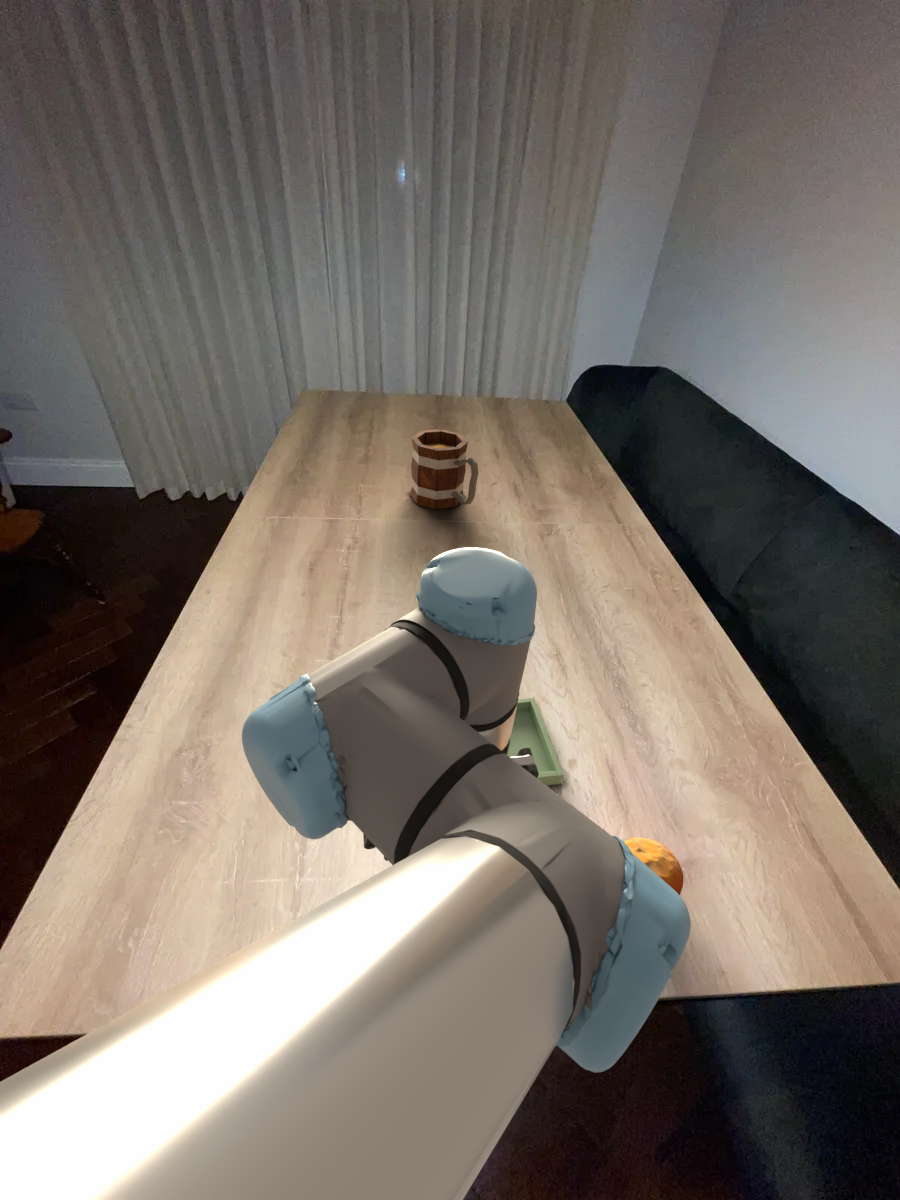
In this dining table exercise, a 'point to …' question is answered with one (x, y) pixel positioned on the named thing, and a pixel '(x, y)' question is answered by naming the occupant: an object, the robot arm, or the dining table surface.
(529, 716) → the tray
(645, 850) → the fruit
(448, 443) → the mug
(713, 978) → the dining table surface
